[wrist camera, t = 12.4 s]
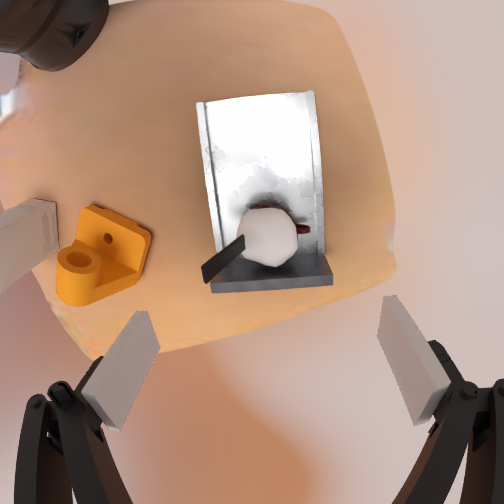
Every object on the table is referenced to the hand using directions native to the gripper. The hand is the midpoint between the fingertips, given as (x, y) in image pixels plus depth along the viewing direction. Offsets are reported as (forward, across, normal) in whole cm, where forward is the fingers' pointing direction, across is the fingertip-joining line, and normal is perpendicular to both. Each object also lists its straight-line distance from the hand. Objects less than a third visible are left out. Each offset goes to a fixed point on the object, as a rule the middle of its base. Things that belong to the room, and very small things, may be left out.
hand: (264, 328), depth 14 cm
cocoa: (+19, 0, 0) cm, 19 cm away
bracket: (+20, -21, 0) cm, 29 cm away
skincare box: (+20, -35, +4) cm, 41 cm away
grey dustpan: (+20, 0, +5) cm, 20 cm away
